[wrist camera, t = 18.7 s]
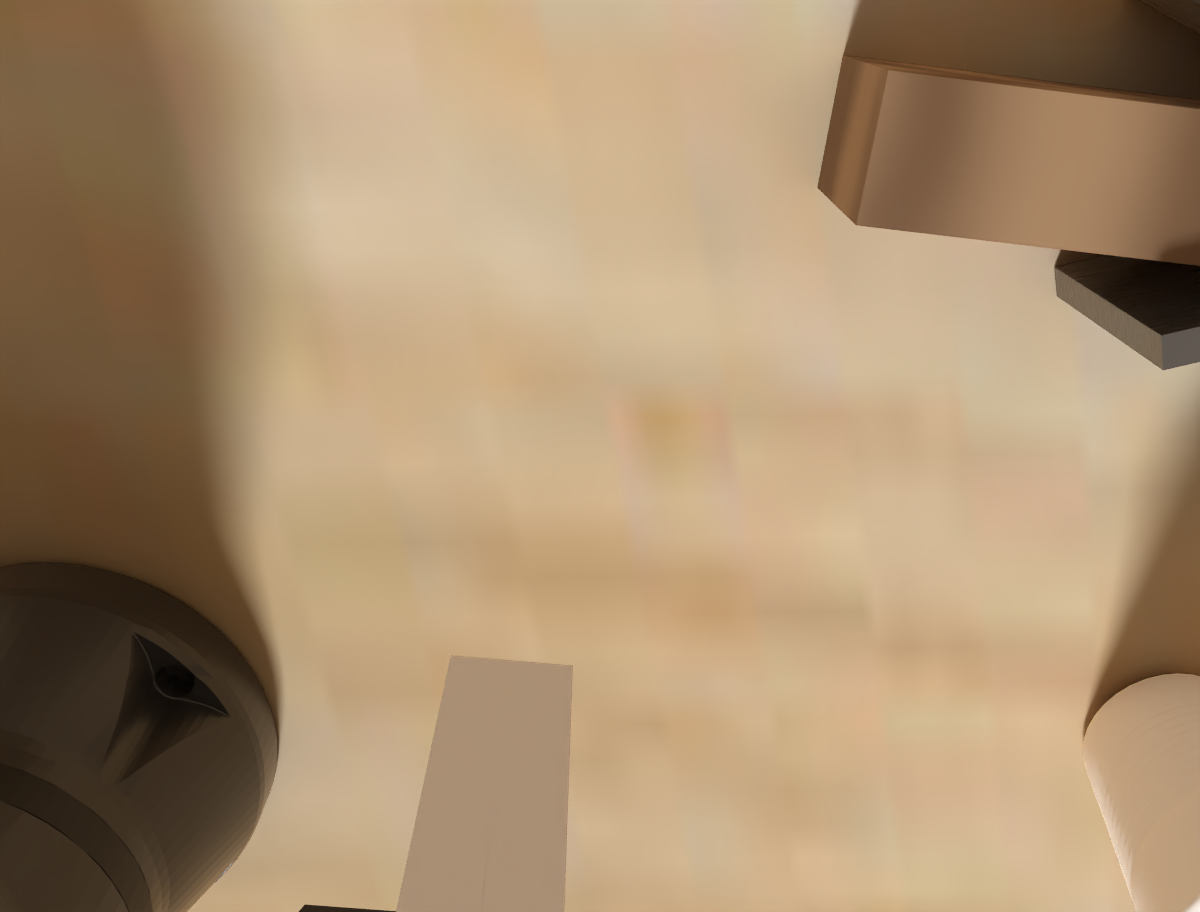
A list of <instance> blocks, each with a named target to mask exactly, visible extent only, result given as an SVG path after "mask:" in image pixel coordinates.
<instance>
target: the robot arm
mask: <svg viewBox="0 0 1200 912" xmlns="http://www.w3.org/2000/svg"><path fill="white" fill-rule="evenodd" d="M572 671H573V666H571V665H560V664H548V663H536V662H524V661H512V660H500V659H488V658H476V657H464V656H452V655H451V658H450V662H449V667H448V672H447V677H446V681H445V686H444V691H443V695H442V700H441V705H440V709H439V714H438V719H437V723H436V728H435V733H434V737H433V742H432V747H431V751H430V756H429V761H428V765H427V770H426V775H425V779H424V784H423V789H422V793H421V798H420V803H419V807H418V812H417V817H416V821H415V826H414V831H413V836H412V840H411V845H410V850H409V854H408V859H407V864H406V868H405V873H404V878H403V882H402V887H401V892H400V896H399V901H398V906H397V910H396V911H383V910H370V909H356V908H343V907H329V906H316V905H304V906H303V907H302V909H301V910H300V911H299V912H564V903H565V874H566V845H567V816H568V787H569V758H570V729H571V700H572ZM276 765H277V735H276V729H275V723H274V719H273V715H272V712H271V709H270V706H269V703H268V700H267V698H266V695H265V693H264V691H263V689H262V687H261V685H260V683H259V681H258V679H257V677H256V676H255V674H254V672H253V671H252V669H251V668H250V666H249V665H248V663H247V662H246V661H245V659H244V658H243V657H242V655H241V654H240V653H239V652H238V650H237V649H236V648H235V647H234V646H233V645H232V643H231V642H230V641H229V640H228V639H227V638H226V637H225V636H224V635H223V634H222V633H221V632H220V631H219V630H217V629H216V628H215V627H214V626H213V625H212V624H211V623H210V622H208V621H207V620H206V619H204V618H203V617H202V616H201V615H199V614H198V613H197V612H195V611H194V610H192V609H191V608H189V607H188V606H186V605H185V604H183V603H182V602H180V601H178V600H177V599H175V598H173V597H172V596H170V595H168V594H166V593H164V592H162V591H160V590H158V589H156V588H154V587H152V586H149V585H147V584H145V583H143V582H140V581H137V580H135V579H132V578H129V577H126V576H123V575H120V574H117V573H113V572H110V571H105V570H101V569H97V568H92V567H86V566H81V565H72V564H61V563H29V564H17V565H11V566H4V567H0V912H187V911H188V910H189V909H190V908H191V907H192V906H193V905H194V904H195V903H196V901H197V900H198V899H199V898H200V897H201V896H202V895H203V894H204V893H205V892H206V891H207V890H208V889H209V888H210V887H211V885H212V884H213V883H215V882H216V881H217V880H218V879H219V878H220V877H221V876H222V875H223V874H224V873H225V872H226V871H227V870H228V869H229V868H230V867H231V866H232V864H233V863H234V862H235V861H236V860H237V858H238V857H239V855H240V854H241V852H242V851H243V849H244V848H245V846H246V845H247V843H248V841H249V840H250V838H251V836H252V834H253V832H254V830H255V828H256V825H257V823H258V820H259V818H260V815H261V813H262V811H263V808H264V806H265V803H266V801H267V798H268V796H269V793H270V790H271V787H272V784H273V781H274V776H275V772H276Z"/></svg>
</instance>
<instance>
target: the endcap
mask: <svg viewBox="0 0 1200 912" xmlns="http://www.w3.org/2000/svg"><path fill="white" fill-rule="evenodd" d="M1141 1H1142V2H1144V3H1146V4H1148V5H1149V6H1151V7H1153V8H1154V9H1156V10H1158V11H1160V12H1161V13H1163V14H1165V15H1167V16H1168V17H1170V18H1172V19H1174V20H1175V21H1177V22H1179V23H1180V24H1182V25H1184V26H1186V27H1187V28H1189V29H1191V30H1193V31H1194V32H1196V33H1198V34H1200V0H1141ZM1054 268H1055V279H1056V290H1057V296H1058V297H1059V298H1060V299H1062V300H1063V301H1065V302H1066V303H1068V304H1069V305H1070V306H1072V307H1073V308H1075V309H1076V310H1078V311H1079V312H1081V313H1082V314H1083V315H1085V316H1086V317H1088V318H1089V319H1091V320H1092V321H1093V322H1095V323H1096V324H1098V325H1099V326H1101V327H1102V328H1103V329H1105V330H1106V331H1108V332H1109V333H1111V334H1112V335H1113V336H1115V337H1116V338H1118V339H1119V340H1121V341H1122V342H1123V343H1125V344H1126V345H1128V346H1129V347H1131V348H1132V349H1134V350H1135V351H1136V352H1138V353H1139V354H1141V355H1142V356H1144V357H1145V358H1146V359H1148V360H1149V361H1151V362H1152V363H1154V364H1155V365H1156V366H1158V367H1159V368H1161V369H1162V370H1166V369H1170V368H1175V367H1179V366H1183V365H1188V364H1192V363H1197V362H1200V266H1197V265H1189V264H1180V263H1172V262H1163V261H1155V260H1146V259H1138V258H1130V257H1121V256H1113V255H1103V256H1099V257H1095V258H1091V259H1087V260H1083V261H1078V262H1074V263H1070V264H1066V265H1062V266H1058V267H1054Z"/></svg>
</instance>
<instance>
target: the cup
mask: <svg viewBox="0 0 1200 912" xmlns="http://www.w3.org/2000/svg"><path fill="white" fill-rule="evenodd" d="M1083 759H1084V764H1085V768H1086V770H1087V773H1088V776H1089V779H1090V782H1091V785H1092V788H1093V791H1094V793H1095V796H1096V799H1097V801H1098V804H1099V806H1100V810H1101V812H1102V814H1103V819H1104V821H1105V823H1106V826H1107V830H1108V832H1109V834H1110V839H1111V841H1112V843H1113V846H1114V850H1115V852H1116V854H1117V859H1118V861H1119V864H1120V866H1121V870H1122V873H1123V875H1124V877H1125V882H1126V884H1127V886H1128V889H1129V893H1130V895H1131V898H1132V901H1133V905H1134V908H1135V911H1136V912H1200V676H1197V675H1192V674H1180V673H1176V674H1165V675H1159V676H1155V677H1151V678H1147V679H1144V680H1141V681H1139V682H1137V683H1134V684H1132V685H1130V686H1128V687H1126V688H1125V689H1123V690H1121V691H1120V692H1118V693H1116V694H1115V695H1114V696H1113V697H1112V698H1110V699H1109V700H1108V701H1107V702H1106V703H1105V704H1104V705H1103V706H1102V707H1101V708H1100V709H1099V711H1098V712H1097V713H1096V714H1095V715H1094V717H1093V719H1092V721H1091V722H1090V724H1089V726H1088V728H1087V731H1086V734H1085V737H1084V742H1083Z"/></svg>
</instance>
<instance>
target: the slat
mask: <svg viewBox="0 0 1200 912" xmlns="http://www.w3.org/2000/svg"><path fill="white" fill-rule="evenodd" d="M818 189H819V190H820V191H821V192H823V193H824V194H825V195H826V196H827V197H828V198H829V199H830V200H831V201H832V202H833V203H834V204H835V205H836V206H837V207H838V208H839V209H840V210H841V211H842V212H843V213H844V214H845V215H846V216H847V217H848V218H849V219H850V220H851V221H852V222H853V223H854V224H855V225H859V226H867V227H876V228H884V229H893V230H901V231H910V232H918V233H926V234H935V235H943V236H952V237H960V238H969V239H977V240H986V241H994V242H1003V243H1011V244H1020V245H1028V246H1036V247H1045V248H1053V249H1062V250H1070V251H1079V252H1087V253H1096V254H1104V255H1113V256H1121V257H1130V258H1138V259H1146V260H1155V261H1163V262H1172V263H1180V264H1189V265H1197V266H1200V100H1195V99H1187V98H1179V97H1171V96H1163V95H1155V94H1147V93H1139V92H1131V91H1123V90H1115V89H1107V88H1100V87H1092V86H1084V85H1076V84H1068V83H1060V82H1052V81H1044V80H1036V79H1028V78H1020V77H1012V76H1004V75H996V74H988V73H980V72H972V71H964V70H956V69H948V68H940V67H932V66H924V65H916V64H908V63H900V62H892V61H884V60H876V59H868V58H861V57H853V56H845V55H843V58H842V63H841V68H840V73H839V79H838V84H837V89H836V94H835V99H834V105H833V110H832V115H831V120H830V125H829V131H828V136H827V141H826V146H825V151H824V157H823V162H822V167H821V172H820V177H819V183H818Z"/></svg>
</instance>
